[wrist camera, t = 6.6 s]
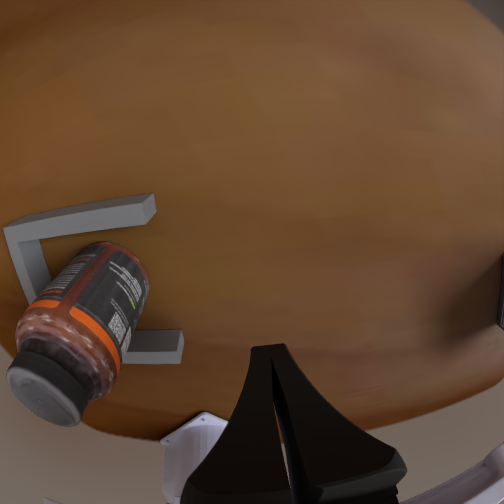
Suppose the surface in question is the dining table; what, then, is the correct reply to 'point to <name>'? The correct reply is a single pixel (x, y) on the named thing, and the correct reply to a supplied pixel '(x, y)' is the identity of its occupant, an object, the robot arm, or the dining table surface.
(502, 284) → the small box
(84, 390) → the supplement bottle
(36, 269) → the grey u-shaped bracket
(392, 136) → the dining table surface
